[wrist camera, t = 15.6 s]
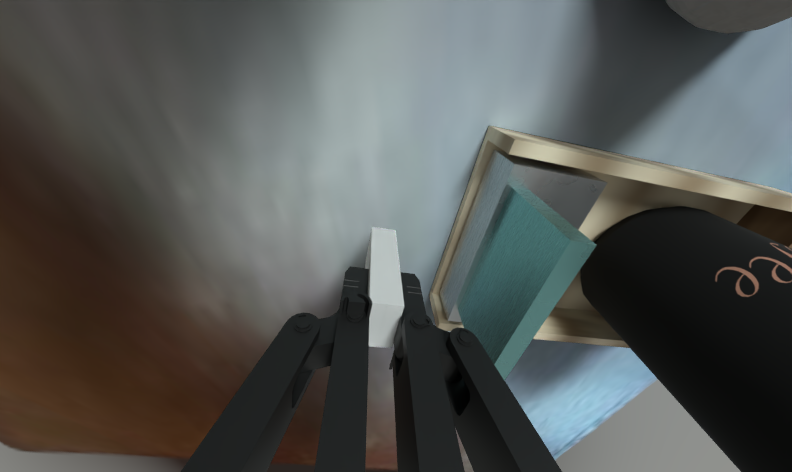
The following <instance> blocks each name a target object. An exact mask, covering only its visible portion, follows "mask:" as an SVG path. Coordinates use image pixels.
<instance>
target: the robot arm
mask: <svg viewBox="0 0 792 472" xmlns="http://www.w3.org/2000/svg"><path fill="white" fill-rule="evenodd" d="M393 343H394V348H395V350H394V353H393V357H392V360H391V363H390V368H389V369H392V366H393V381H394V401H395V422H396V442H397V462H398V472H465V471H464V467H463V462H462V458H461V453H460V448H459V444H458V439H457V434H456V430H457V432H458V435H459V437H460V439H461V442H462V444H463V446H464V449H465V451H466V453H467V456H468V458H469V461H470V463H471V465H472V468H473V470H474V472H562V471H561V469H560V468H559V466H558V465H557V463H556V461H555V460H554V458H553V457H552V455H551V454H550V452H549V450H548V449H547V447H546V446H545V444H544V442H543V441H542V439H541V438H540V436H539V435H538V433H537V431H536V430H535V428H534V427H533V425H532V424H531V422H530V420H529V419H528V417H527V416H526V414H525V412H524V411H523V409H522V408H521V406H520V405H519V403H518V401H517V400H516V398H515V397H514V395H513V393H512V392H511V390H510V389H509V387H508V386H507V384H506V382H505V381H504V379H503V378H502V376H501V375H500V373H499V371H498V370H497V368H496V367H495V365H494V363H493V362H492V360H491V359H490V357H489V356H488V354H487V352H486V351H485V349H484V348H483V346H482V344H481V343H480V341H479V340H478V338H477V337H476V336H475V335H474V333H472V332H471V331H469V330H468V329H465V328H459V327H457V328H454V329H453V330H452V331H451V332H448V331H445V330H442V329H440V328H438V327H436V326H434V325H433V324H432V321H431V319H430V318H429V317H428V316H427V315H426V312H425V307H424V302H423V297H422V292H421V287H420V282H419V280H418V278H417V277H416V276H415V274H409V273H401V272H400V264H399V255H398V247H397V238H396V230H391V229H384V228H378V227H372V229H371V234H370V240H369V245H368V251H367V256H366V262H365V268H357V267H350V268H349V269H348V270H347V271H346V272H345V279H344V285H343V291H342V298H341V301H340V308H339V310H338V311H337V313H335V314H334V315H333V316H330V317H328V318H323V319H318V318H317V317H316V316H315V315H312V314H310V313H299V314H296V315H294V316H292V317H291V318H290V319H289V320H288V321H287V322H286V323H285V325H284V326H283V328H282V329H281V331H280V332H279V333H278V335H277V336H276V338H275V339H274V340H273V342H272V343H271V345H270V346H269V348H268V349H267V350H266V352H265V353H264V355H263V356H262V357H261V359H260V360H259V362H258V363H257V365H256V366H255V367H254V369H253V370H252V372H251V373H250V374H249V376H248V377H247V379H246V380H245V382H244V383H243V384H242V386H241V387H240V389H239V390H238V391H237V393H236V394H235V396H234V397H233V399H232V400H231V401H230V403H229V404H228V406H227V407H226V408H225V410H224V411H223V413H222V414H221V416H220V417H219V418H218V420H217V421H216V423H215V424H214V425H213V427H212V428H211V430H210V431H209V433H208V434H207V435H206V437H205V438H204V440H203V441H202V442H201V444H200V445H199V447H198V448H197V449H196V451H195V452H194V454H193V455H192V457H191V458H190V459H189V461H188V462H187V464H186V465H185V466H184V468H183V469H182V471H181V472H266V471H267V469H268V467H269V465H270V463H271V461H272V459H273V457H274V455H275V453H276V451H277V448H278V446H279V444H280V442H281V440H282V438H283V436H284V434H285V432H286V430H287V428H288V426H289V424H290V422H291V419H292V417H293V415H294V413H295V411H296V409H297V407H298V405H299V403H300V401H301V399H302V397H303V395H304V393H305V391H306V388H307V386H308V384H309V382H310V380H311V378H312V376H313V374H314V372H315V369H319V368H323V367H327V366H331V367H330V374H329V380H328V387H327V393H326V400H325V406H324V413H323V419H322V426H321V432H320V439H319V445H318V451H317V458H316V464H315V471H314V472H365V457H366V421H367V385H368V350H369V346H372V347H383V348H392V346H393ZM455 428H456V430H455Z"/></svg>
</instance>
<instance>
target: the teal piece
mask: <svg viewBox="0 0 792 472" xmlns="http://www.w3.org/2000/svg"><path fill="white" fill-rule="evenodd" d="M606 185H607V182H605V181H603V180H601V179H599V178H597V177H595V176H593V175H591V174H589V173H587V172H585V171H583V170H581V169H579V168H574V167H570V166H565V165H560V164H555V163H550V162H545V161H540V160H535V159H530V158H525V157H521V156H516V155H511V154H508V153H506V152H504V151H499V150H493V153H492V156H491V158H490V161H489V164H488V166H487V169H486V171H485V174H484V177H483V179H482V182H481V185H480V187H479V190H478V193H477V195H476V198H475V201H474V203H473V206H472V208H471V211H470V214H469V216H468V219H467V222H466V224H465V227H464V230H463V232H462V235H461V238H460V240H459V243H458V245H457V248H456V251H455V253H454V256H453V259H452V261H451V264H450V267H449V269H448V272H447V275H446V277H445V280H444V282H443V285H442V288H441V290H440V295H441V299H442V302H443V306H444V309H445V313H446V317H447V320H448V321H455V322H462V324H463V327H464V328H465V329H468V330H469V331H471V332H472V333H474V335H475V336H476V337H477V338H478V340H479V341H480V343H481V344H482V346H483V348H484V349H485V351H486V352H487V354H488V356H489V357H490V359H491V360H492V362H493V363H494V365H495V367H496V368H497V370H498V371H499V373H500V375H501V376H502V378H503V379H504V380H505V379H506V377H507V376H508V374H509V373H510V371H511V370H512V369H513V367H514V366H515V364H516V363H517V361H518V360H519V358H520V357H521V355H522V354H523V352H524V351H525V350H526V348H527V347H528V345H529V344H530V342H531V341H532V339H533V338H534V336H535V335H536V333H537V332H538V330H539V329H540V328H541V326H542V325H543V323H544V322H545V320H546V319H547V317H548V316H549V314H550V313H551V311H552V310H553V308H554V307H555V306H556V304H557V303H558V301H559V300H560V298H561V297H562V295H563V294H564V292H565V291H566V289H567V288H568V286H569V285H570V284H571V282H572V281H573V279H574V278H575V276H576V275H577V273H578V272H579V270H580V269H581V267H582V266H583V265H584V263H585V262H586V260H587V259H588V257H589V256H590V254H591V253H592V251H593V250H594V248H595V247H596V244H595V243H594V242H592V241H591V240H590V239H589V238H588V237H586V236H585V235H584V234H583V233H581V232H580V231H579V228H580V226H581V225H582V223H583V222H584V220H585V218H586V217H587V215H588V213H589V212H590V210H591V209H592V207H593V205H594V204H595V202H596V201H597V199H598V197H599V196H600V194H601V193H602V191H603V189H604V188H605V186H606Z"/></svg>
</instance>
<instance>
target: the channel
mask: <svg viewBox="0 0 792 472" xmlns="http://www.w3.org/2000/svg"><path fill="white" fill-rule="evenodd" d="M493 150H499V151H504V152H506V153H508V154H511V155H516V156H521V157H525V158H530V159H535V160H540V161H545V162H550V163H555V164H560V165H565V166H570V167H574V168H579V169H581V170H583V171H585V172H587V173H589V174H591V175H593V176H595V177H597V178H599V179H601V180H603V181H605V182H607V185H606V186H605V188H604V189H603V191H602V193H601V194H600V196H599V197H598V199H597V201H596V202H595V204H594V205H593V207H592V209H591V210H590V212H589V213H588V215H587V217H586V218H585V220H584V222H583V223H582V225H581V226H580V228H579V231H580V232H581V233H583V234H584V235H585V236H586V237H588V238H589V239H590V240H591V241H592V242H595V241H596V240H597V239H598V238H599V237H600V236H601V235H602V234H603V233H604V232H605V231H606V230H607V229H609V228H610V227H612V226H613V225H615V224H617V223H618V222H620V221H621V220H623V219H625V218H626V217H628V216H631V215H634V214H637V213H639V212H642V211H645V210H648V209H656V208H664V207H675V206H686V207H691V208H696V209H702V210H705V211H708V212H710V213H712V214H715V215H717V216H719V217H721V218H724V219H726V220H728V221H730V222H733V223H735V224H737V225H739V226H742V227H744V228H746V229H748V230H751V231H753V232H755V233H758V234H760V235H762V236H764V237H767V238H769V239H771V240H773V241H776V242H778V243H780V244H782V245H785V246H787V247H789V248H791V249H792V193H788V192H785V191H782V190H779V189H775V188H772V187H768V186H763V185H759V184H754V183H750V182H745V181H741V180H736V179H731V178H727V177H722V176H718V175H713V174H709V173H704V172H699V171H695V170H690V169H686V168H681V167H677V166H672V165H667V164H663V163H658V162H654V161H649V160H645V159H640V158H635V157H631V156H626V155H622V154H617V153H613V152H608V151H603V150H599V149H594V148H590V147H585V146H581V145H576V144H571V143H567V142H562V141H558V140H553V139H549V138H544V137H540V136H535V135H530V134H526V133H521V132H517V131H512V130H508V129H503V128H498V127H494V126H489V127H488V130H487V133H486V135H485V138H484V141H483V144H482V147H481V150H480V152H479V155H478V158H477V161H476V164H475V166H474V169H473V172H472V175H471V178H470V181H469V183H468V186H467V189H466V192H465V195H464V198H463V200H462V203H461V206H460V209H459V212H458V214H457V217H456V220H455V223H454V226H453V229H452V231H451V234H450V237H449V240H448V243H447V245H446V248H445V251H444V254H443V257H442V260H441V262H440V265H439V268H438V271H437V274H436V277H435V279H434V282H433V285H432V288H431V291H430V293H429V297H430V302H431V306H432V311H433V315H434V319H435V324H436V327H438V328H440V329H442V330H445V331H452V330H453V329H454V328H457V327H459V328H464V327H463V324H462V322H455V321H448V320H447V317H446V313H445V309H444V306H443V302H442V299H441V295H440V290H441V288H442V285H443V282H444V280H445V277H446V275H447V272H448V269H449V267H450V264H451V261H452V259H453V256H454V253H455V251H456V248H457V245H458V243H459V240H460V238H461V235H462V232H463V230H464V227H465V224H466V222H467V219H468V216H469V214H470V211H471V208H472V206H473V203H474V201H475V198H476V195H477V193H478V190H479V187H480V185H481V182H482V179H483V177H484V174H485V171H486V169H487V166H488V164H489V161H490V158H491V156H492V153H493ZM580 270H581V269H580ZM580 270H579V272H578V273H577V275H576V276H575V278H574V279H573V281H572V282H571V284H570V285H569V286H568V288H567V289H566V291H565V292H564V294H563V295H562V297H561V298H560V300H559V301H558V303H557V304H556V306H555V307H554V308H553V310H552V311H551V313H550V314H549V316H548V317H547V319H546V320H545V322H544V323H543V325H542V326H541V328H540V329H539V330H538V332H537V333H536V335H535V336H534V338H533V339H540V340H551V341H561V342H572V343H583V344H594V345H604V346H615V347H626V348H630V347H629V346H628V345H627V344H626V343H625V342H624V341H623V339H622V338H621V337H620V336H619V335H618V334H617V333H616V332H615V330H614V329H613V328H612V327H611V326H610V325H609V324H608V323H607V322H606V320H605V319H604V318H603V317H602V316H601V315H600V314H599V313H598V312H597V310H596V309H595V308H594V307H593V306H592V305H591V304H590V302H589V301H588V300H587V298H586V297H585V296H584V294H583V292H582V286H581V271H580Z"/></svg>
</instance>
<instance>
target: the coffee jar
mask: <svg viewBox="0 0 792 472" xmlns="http://www.w3.org/2000/svg"><path fill="white" fill-rule="evenodd" d="M594 243H595V244H596V247H595V248H594V250H593V251H592V253H591V254H590V256H589V257H588V259H587V260H586V262H585V263H584V265H583V266H582V267H581V270H580V271H581V286H582V292H583V294H584V296H585V297H586V298H587V300H588V301H589V302H590V304H591V305H592V306H593V307H594V308H595V309H596V310H597V312H598V313H599V314H600V315H601V316H602V317H603V318H604V319H605V320H606V322H607V323H608V324H609V325H610V326H611V327H612V328H613V329H614V330H615V332H616V333H617V334H618V335H619V336H620V337H621V338H622V339H623V341H624V342H625V343H626V344H627V345H628V346H629V347H630V348H631V349H632V351H633V352H634V353H635V354H636V355H637V356H638V357H639V358H640V359H641V361H642V362H643V363H644V364H645V365H646V366H647V367H648V368H649V370H650V371H651V372H652V373H653V374H654V375H655V376H656V377H657V378H658V380H659V381H660V382H661V383H662V384H663V385H664V386H665V387H666V388H667V390H668V391H669V392H670V393H671V394H672V395H673V396H674V397H675V398H676V400H677V401H678V402H679V403H680V404H681V405H682V406H683V407H684V409H685V410H686V411H687V412H688V413H689V414H690V415H691V416H692V417H693V419H694V420H695V421H696V422H697V423H698V424H699V425H700V426H701V427H702V429H703V430H704V431H705V432H706V433H707V434H708V435H709V436H710V438H712V439H713V441H714V442H715V443H716V444H717V445H718V446H719V448H720V449H721V450H722V451H723V452H724V453H725V454H726V455H727V456H728V458H729V459H730V460H731V461H732V462H733V463H734V464H735V465H736V466H737V468H738V469H739V470H740V471H741V472H792V249H791V248H789V247H787V246H785V245H782V244H780V243H778V242H776V241H773V240H771V239H769V238H767V237H764V236H762V235H760V234H758V233H755V232H753V231H751V230H748V229H746V228H744V227H742V226H739V225H737V224H735V223H733V222H730V221H728V220H726V219H724V218H721V217H719V216H717V215H715V214H712V213H710V212H708V211H705V210H702V209H696V208H691V207H686V206H675V207H664V208H656V209H648V210H645V211H642V212H639V213H637V214H634V215H631V216H628V217H626V218H625V219H623V220H621V221H620V222H618V223H617V224H615V225H613V226H612V227H610V228H609V229H607V230H606V231H605V232H604V233H603V234H602V235H601V236H600V237H599V238H598V239H597V240H596V241H595V242H594Z"/></svg>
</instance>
